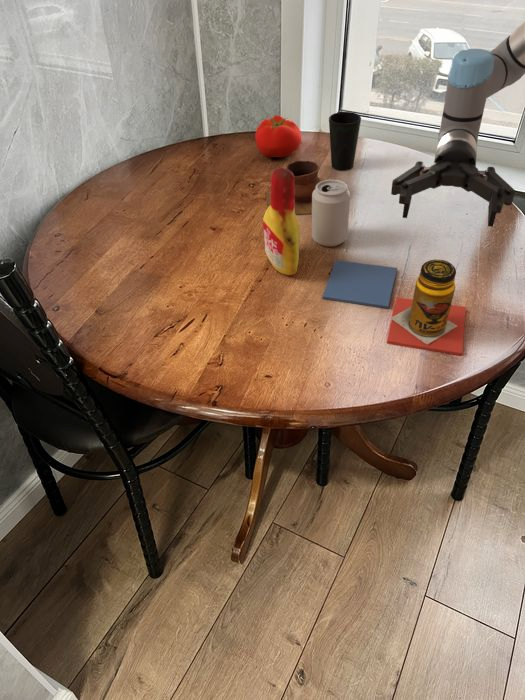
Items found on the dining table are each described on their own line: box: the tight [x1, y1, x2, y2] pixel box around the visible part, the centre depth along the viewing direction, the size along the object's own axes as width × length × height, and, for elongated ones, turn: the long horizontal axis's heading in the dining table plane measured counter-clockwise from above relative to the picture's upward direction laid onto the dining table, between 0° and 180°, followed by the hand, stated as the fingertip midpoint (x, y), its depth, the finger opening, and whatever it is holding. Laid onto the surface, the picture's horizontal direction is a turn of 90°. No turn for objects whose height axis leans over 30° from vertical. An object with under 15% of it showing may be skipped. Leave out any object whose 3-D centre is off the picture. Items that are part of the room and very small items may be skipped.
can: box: [311, 179, 351, 248], centre depth 109 cm, size 8×8×12 cm
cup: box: [328, 111, 362, 172], centre depth 133 cm, size 8×8×12 cm
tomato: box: [254, 115, 303, 159], centre depth 142 cm, size 13×12×8 cm
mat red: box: [386, 296, 467, 356], centre depth 92 cm, size 12×12×1 cm
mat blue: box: [321, 259, 398, 310], centre depth 102 cm, size 12×12×1 cm
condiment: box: [390, 259, 457, 344], centre depth 88 cm, size 7×8×12 cm
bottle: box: [262, 167, 301, 276], centre depth 101 cm, size 12×6×20 cm, turn 12°
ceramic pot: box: [264, 160, 325, 215], centre depth 125 cm, size 18×18×7 cm
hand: (448, 214), depth 88 cm, fingers open, 13 cm apart
